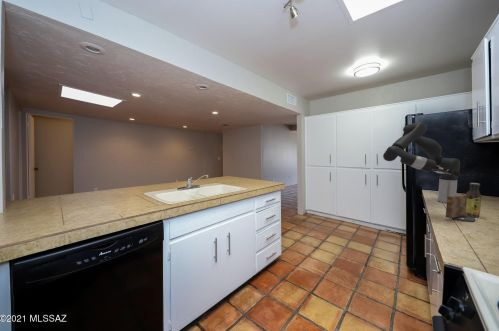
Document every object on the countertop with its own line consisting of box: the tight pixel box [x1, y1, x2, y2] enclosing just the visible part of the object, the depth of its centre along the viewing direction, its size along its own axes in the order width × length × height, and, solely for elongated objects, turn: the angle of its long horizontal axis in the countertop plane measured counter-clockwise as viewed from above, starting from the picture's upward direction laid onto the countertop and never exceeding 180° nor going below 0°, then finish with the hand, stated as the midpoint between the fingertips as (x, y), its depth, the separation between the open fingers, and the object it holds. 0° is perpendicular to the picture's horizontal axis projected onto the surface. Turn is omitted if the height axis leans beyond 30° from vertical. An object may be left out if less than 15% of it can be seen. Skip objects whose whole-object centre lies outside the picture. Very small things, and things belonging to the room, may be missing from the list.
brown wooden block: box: [445, 194, 467, 219], centre depth 107 cm, size 13×4×12 cm, turn 105°
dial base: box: [450, 215, 476, 223], centre depth 109 cm, size 11×11×1 cm
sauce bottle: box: [465, 182, 482, 218], centre depth 112 cm, size 6×6×20 cm
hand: (456, 175), depth 106 cm, fingers open, 8 cm apart
